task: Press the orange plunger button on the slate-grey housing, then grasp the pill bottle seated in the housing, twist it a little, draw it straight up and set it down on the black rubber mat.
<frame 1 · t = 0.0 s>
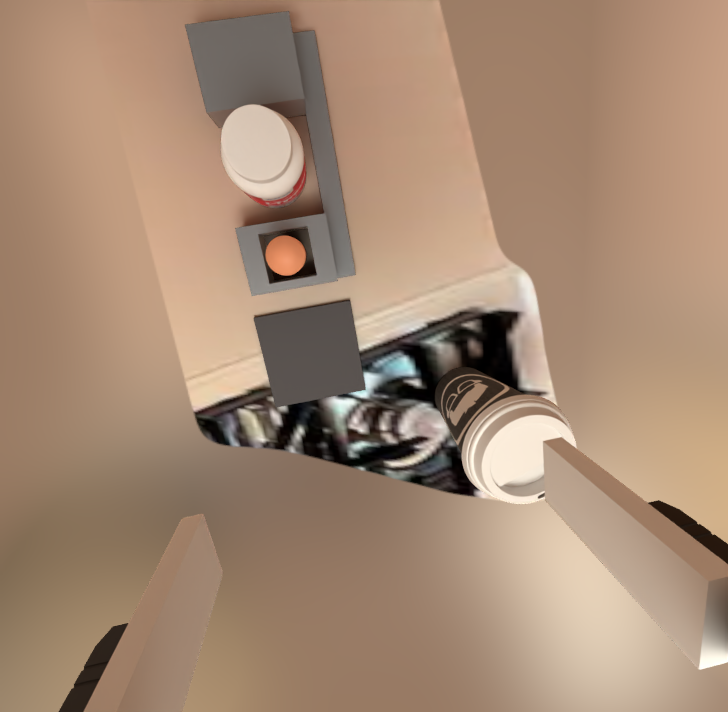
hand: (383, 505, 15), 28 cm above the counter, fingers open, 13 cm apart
housing: (273, 174, 36), on the counter
plunger: (287, 255, 34), point 5 cm above the counter, slide at 0.0 cm
pill bottle: (274, 174, 37), on the counter
mat: (312, 354, 41), on the counter
coffee cup: (461, 392, 45), on the counter
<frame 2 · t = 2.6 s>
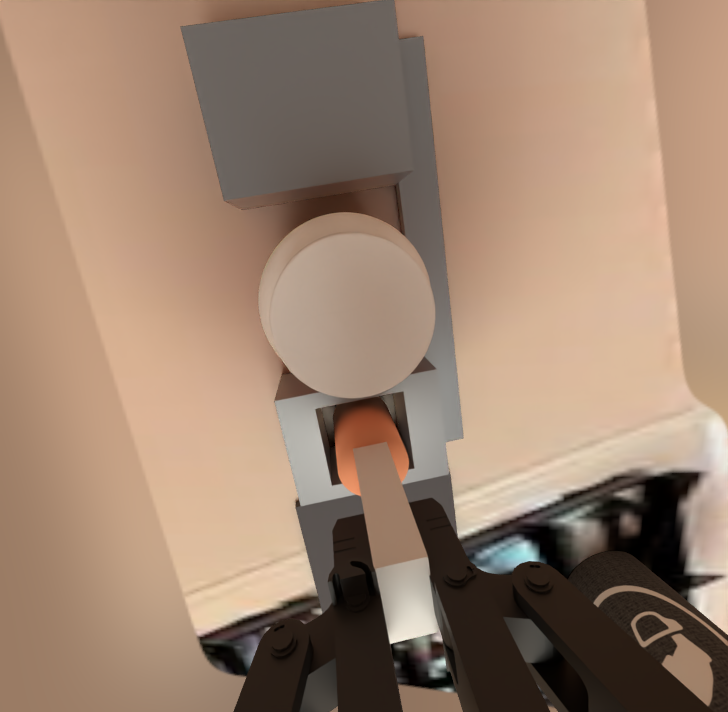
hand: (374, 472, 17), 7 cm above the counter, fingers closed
housing: (335, 284, 21), on the counter
plunger: (366, 439, 19), point 4 cm above the counter, slide at 0.6 cm, touching gripper
pill bottle: (335, 284, 21), on the counter
mat: (384, 547, 26), on the counter
coffee cup: (601, 583, 30), on the counter
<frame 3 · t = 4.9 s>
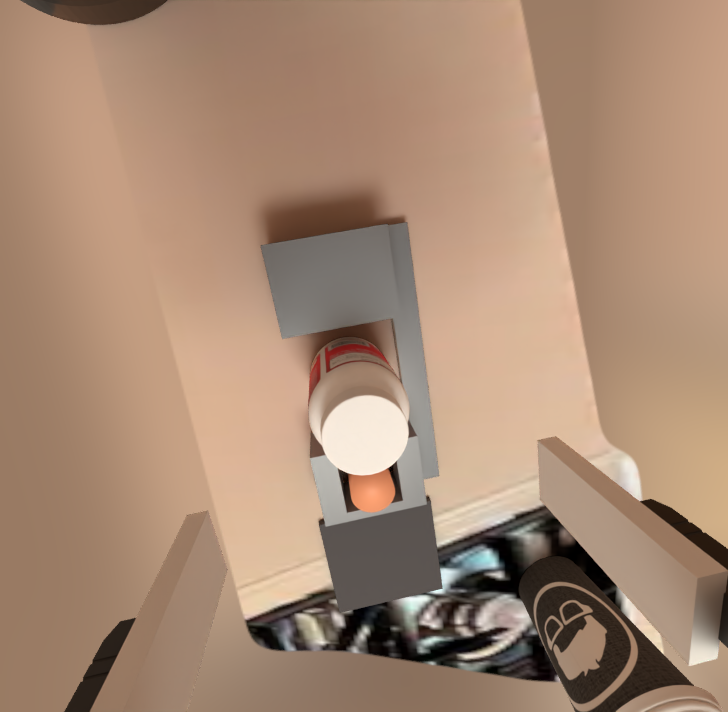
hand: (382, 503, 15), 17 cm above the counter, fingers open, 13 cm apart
housing: (349, 372, 31), on the counter
plunger: (368, 473, 30), point 3 cm above the counter, slide at 1.6 cm
pill bottle: (348, 371, 31), on the counter
mat: (382, 554, 36), on the counter
coffee cup: (547, 580, 39), on the counter
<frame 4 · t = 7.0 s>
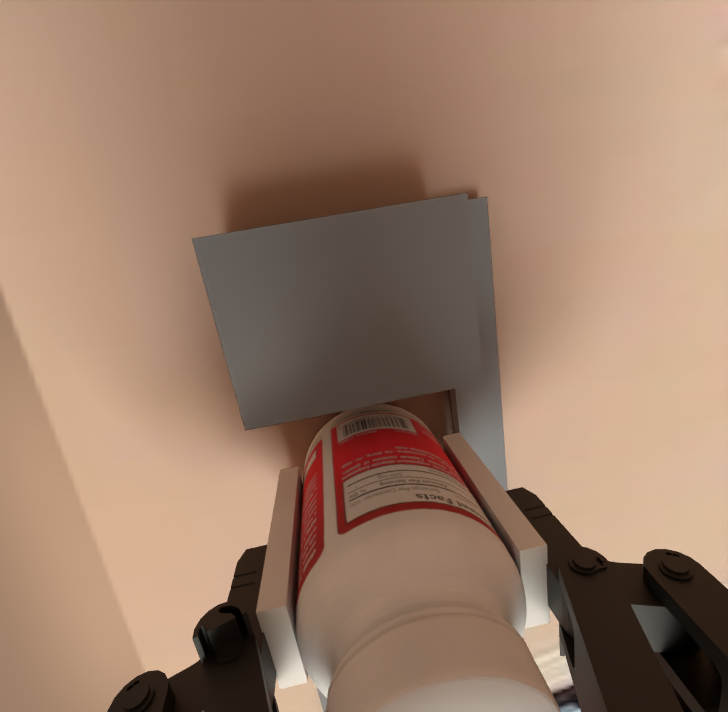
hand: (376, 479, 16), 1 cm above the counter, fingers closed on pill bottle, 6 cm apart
housing: (371, 461, 18), on the counter
pill bottle: (371, 458, 18), on the counter, touching gripper
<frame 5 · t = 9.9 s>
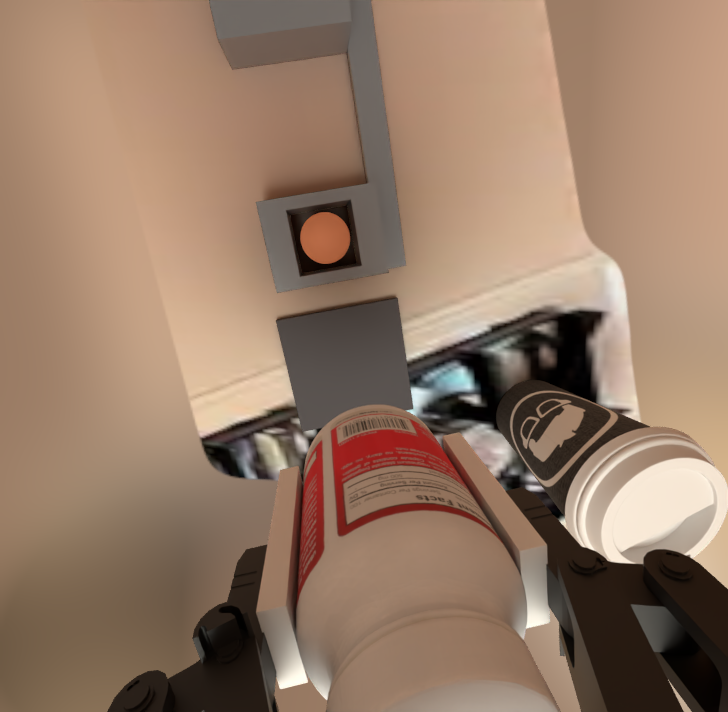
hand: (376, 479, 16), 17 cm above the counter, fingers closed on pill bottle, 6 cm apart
housing: (303, 133, 28), on the counter
plunger: (324, 239, 27), point 3 cm above the counter, slide at 1.6 cm
pill bottle: (371, 459, 18), point 16 cm above the counter, touching gripper
mat: (347, 365, 33), on the counter
coffee cup: (527, 411, 37), on the counter
when the fingers open (3 cm above the counter, at t = 12.8 s): pill bottle drops 1 cm, resting on mat.
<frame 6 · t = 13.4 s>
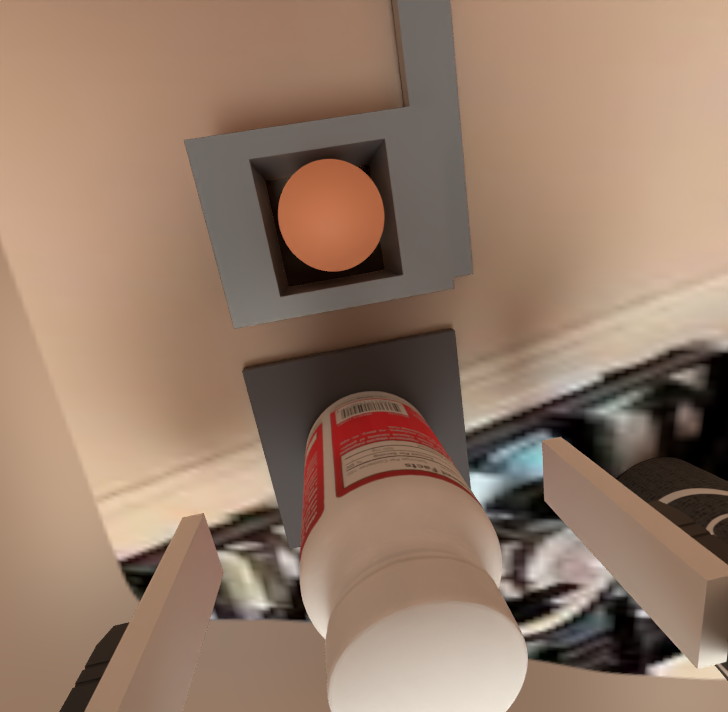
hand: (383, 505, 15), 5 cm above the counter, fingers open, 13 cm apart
housing: (290, 22, 15), on the counter
plunger: (329, 222, 14), point 3 cm above the counter, slide at 1.6 cm
pill bottle: (367, 443, 19), resting on mat
mat: (366, 441, 20), on the counter
coffee cup: (648, 503, 23), on the counter
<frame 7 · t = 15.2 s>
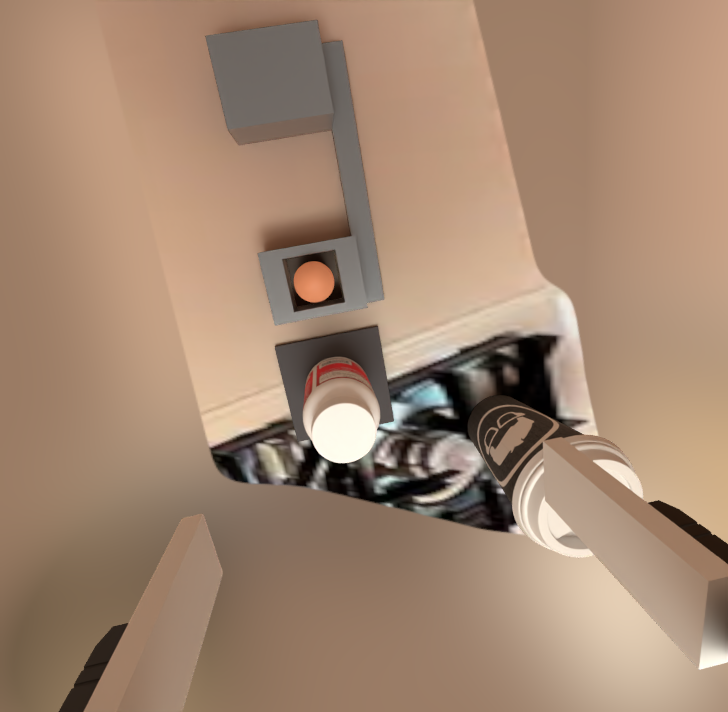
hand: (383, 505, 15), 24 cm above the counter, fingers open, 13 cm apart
housing: (297, 193, 34), on the counter
plunger: (314, 280, 33), point 3 cm above the counter, slide at 1.6 cm
pill bottle: (337, 384, 38), resting on mat
mat: (336, 384, 39), on the counter
coffee cup: (495, 422, 42), on the counter
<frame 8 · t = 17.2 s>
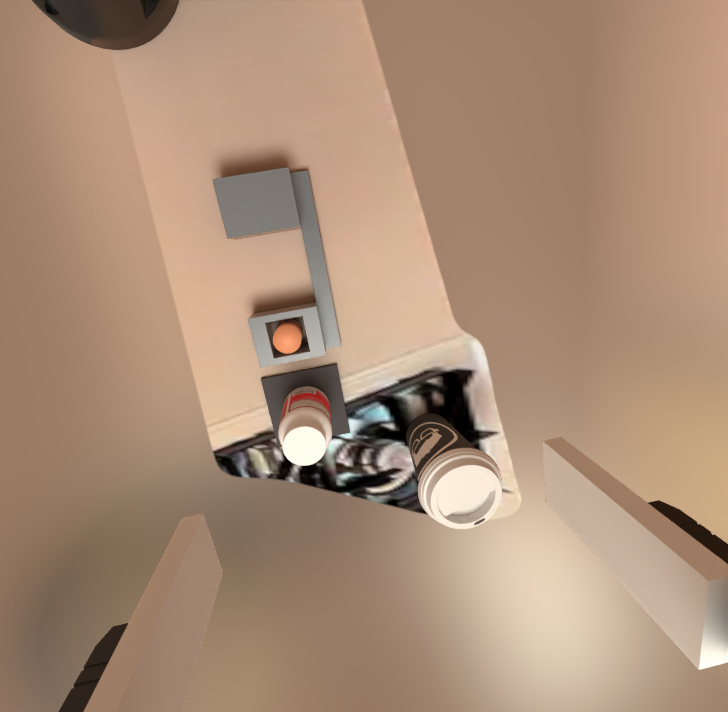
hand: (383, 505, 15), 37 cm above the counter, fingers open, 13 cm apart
housing: (277, 271, 47), on the counter
plunger: (288, 335, 47), point 3 cm above the counter, slide at 1.6 cm
pill bottle: (307, 405, 52), resting on mat
mat: (307, 405, 52), on the counter
coffee cup: (427, 433, 56), on the counter
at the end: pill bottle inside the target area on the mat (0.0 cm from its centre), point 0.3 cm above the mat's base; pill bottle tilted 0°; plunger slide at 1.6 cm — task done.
